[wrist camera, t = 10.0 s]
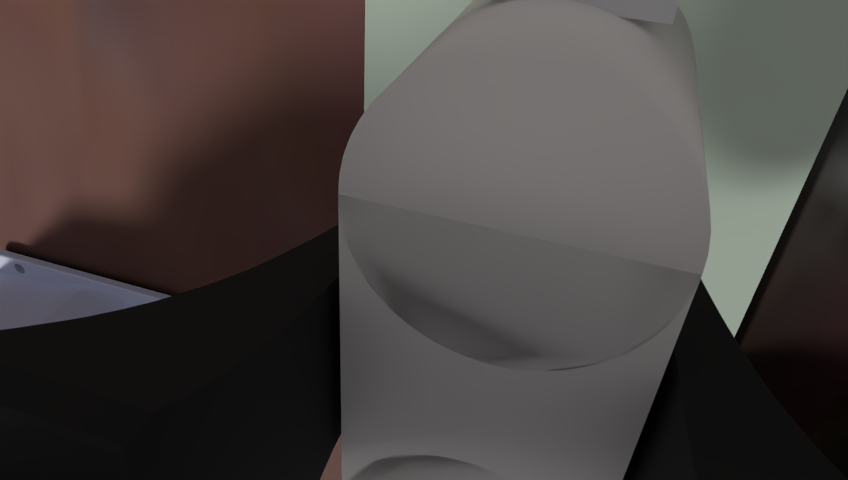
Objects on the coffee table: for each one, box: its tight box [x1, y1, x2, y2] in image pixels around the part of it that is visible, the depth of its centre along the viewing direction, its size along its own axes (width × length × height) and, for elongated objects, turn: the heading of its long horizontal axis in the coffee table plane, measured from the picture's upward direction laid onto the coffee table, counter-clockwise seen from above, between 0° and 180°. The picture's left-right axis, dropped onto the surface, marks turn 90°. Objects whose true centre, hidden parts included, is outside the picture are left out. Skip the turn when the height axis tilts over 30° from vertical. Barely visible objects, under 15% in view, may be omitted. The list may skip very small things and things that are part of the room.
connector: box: [338, 0, 711, 480], centre depth 10 cm, size 4×13×5 cm, turn 176°
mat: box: [364, 0, 848, 337], centre depth 18 cm, size 12×16×1 cm
